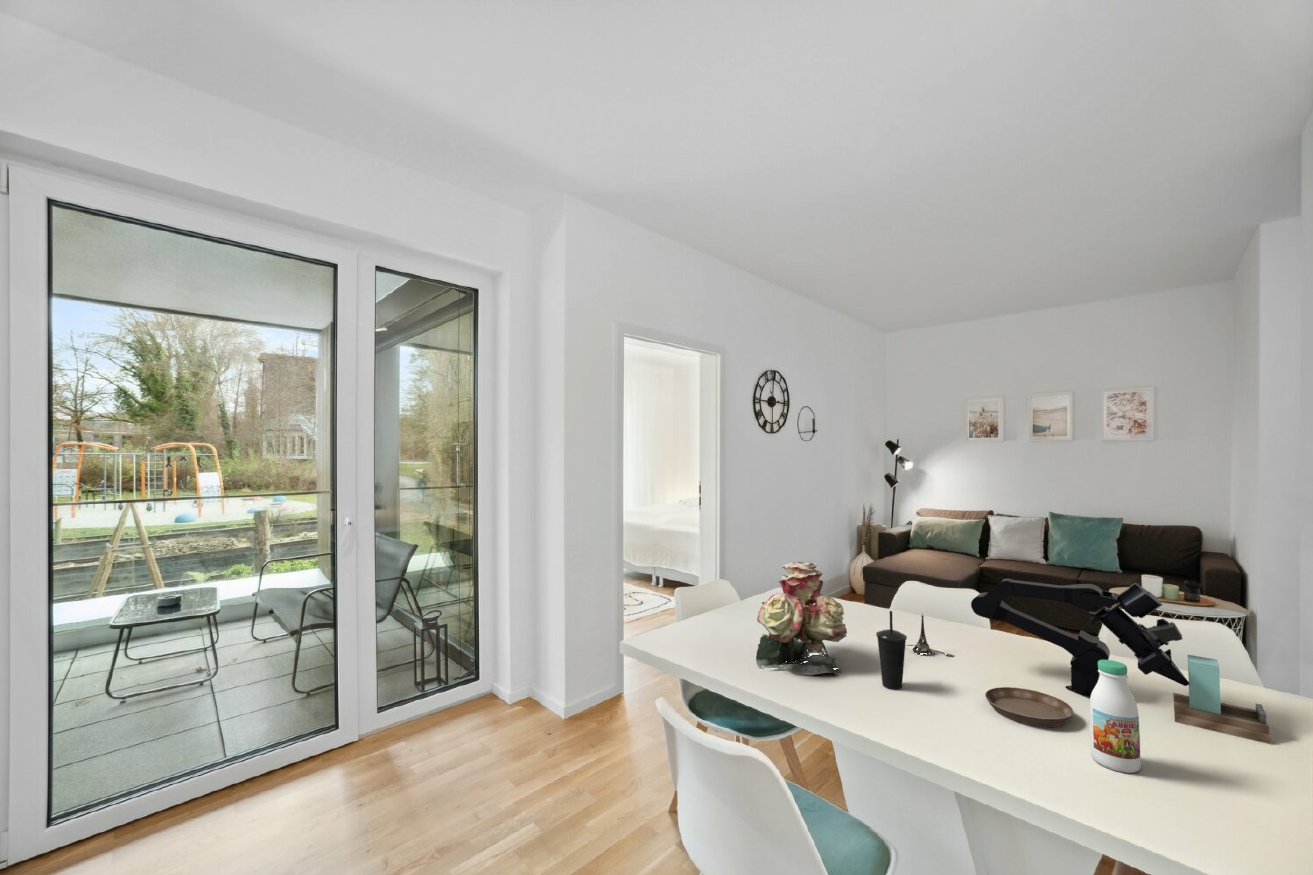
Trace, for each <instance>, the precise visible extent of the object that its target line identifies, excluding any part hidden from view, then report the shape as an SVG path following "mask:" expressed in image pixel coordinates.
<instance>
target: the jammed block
mask: <svg viewBox="0 0 1313 875" xmlns="http://www.w3.org/2000/svg"><path fill="white" fill-rule="evenodd" d="M1187 668H1188V674H1187V676H1188V682H1189V685H1188V696H1189V704H1190V708H1194V709H1199V710H1203V711H1208V712H1212V713H1217V714H1221V704H1220V703H1221V684H1220V682H1221V680H1220V666H1219V661H1218V659H1216V658H1215V659H1214V658H1210V657H1203V656H1199V655H1198V656H1197V655H1193V654H1187Z"/></svg>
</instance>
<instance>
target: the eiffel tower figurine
mask: <svg viewBox="0 0 1313 875" xmlns="http://www.w3.org/2000/svg"><path fill="white" fill-rule="evenodd" d="M921 612H922V611H921ZM920 617H921V620H920V622H921V626H920V635H919V638H918V640H917V642H916V644H907V646H915V647H914V648H913V649H912V650H913V651H912V650H911V651H912V652H913V654H915V653H917V655H920V653H927V655H926V654H923V655H920V657H921V656H923V657H935V654H934V653H941V654H943V653H945V652H942V651H939V650H937V649H932V648H930V644H929V643H928V641H927V636H926V632H925V625H924V624H925V623H924V617H925V616H924V615H923V612H922V614H921V616H920ZM917 648H918V650H916V649H917ZM929 653H930V654H929ZM917 655H916V656H917ZM945 657H949V658H954V657H956V655H954V654H951V653H947V655H945Z"/></svg>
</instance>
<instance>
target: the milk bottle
mask: <svg viewBox="0 0 1313 875" xmlns="http://www.w3.org/2000/svg"><path fill="white" fill-rule="evenodd" d="M1098 672H1099V673H1100V676H1099V680H1098V682H1097V684H1096V686H1095V687H1094V689H1093V691H1092V693H1091V697H1090V698H1089V699H1090V700H1089V726H1090V727H1089V731H1090V734H1089V735H1090V736H1089V737H1090V739H1089V740H1090V754H1091V758H1092V759H1093V760H1094V761H1095V762H1096V763H1097V764H1098V765H1101V766H1102V767H1104V768H1107V769H1110V770H1113V771H1117V772H1120V773H1125V774H1126V773H1127V774H1133V773H1134V774H1135V773H1138V772H1139V771H1140V770H1141V740H1140V734H1141V733H1140V717H1139V709H1138V705H1137V702H1136V699H1135V697H1134V696H1133V694H1132V692H1131V689H1130V688H1129V686H1128V683H1127V682H1128V681H1127V678H1128V666H1127V665H1126V664H1124V663H1122V662H1120V661H1116V660H1113V659H1112V660H1111V659H1109V660H1099V661H1098Z"/></svg>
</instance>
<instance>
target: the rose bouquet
mask: <svg viewBox="0 0 1313 875" xmlns="http://www.w3.org/2000/svg"><path fill="white" fill-rule="evenodd" d="M781 567H782V568H783V569H784V570H785V571H786V572H787V575H785V574H783V575H782V576H781V580H780V579H779V581H778V583H779V584H780V587H781V589H782V592H779V591H778V592H776V593H775V592H774V594H772V595H770V596H769V598H768V599H767V600H766V601H762V602H761V604H762V605H761V607H760V610H759V611H758V613H757V617H756V618H757V619H756V621H757V623H759V624H761V625H762V626H763V627H764V628H765V630H766V631H767V632H768V634H765V633H762V634H761V637H759V638H760V639H759V643H758V645H757V647H758V648H757V650H756V656H755V661H756V665H757V667H758V668H760V669H764V668H771V669H772V670H770V673H772V672H773V671H789V672H791V673H793V674H795V675H800V676H813V675H814V676H815V675H819V674H827V673H832V674H834V675H835V676H840V674H841V673H842V669H841V668H840V667H839V666H838V665H837V663H836V660H837V657H832V658H830V656H829V655H828V651H827V648H826V645H825V643H824V641H827V642H833V643H839V642H840V641H841V640H843V639H844V638H846V637H847V633H848V630H847V627H846V626H847V625H846V623H843V620H844V619H845V618H844V617H843V616H844V615H845V613H844V612H845V611H844V607H843V605H842V603H840V602H837V601H836V600H835V599H834V598H833V597H831V596H830V595H825V594H822V593H821V591H822V588H823V586H824V585H823V584H824V580H822V579H820V578H821V577H822V575H823V573H822V571H820V570H817V569H816V568H817V567H818V564H817V563H816V562H815V563H814V562H812V561H811V560H810V562H809V563H807V562H805V561H792V562H790V563H787V564H784V565H781ZM807 650H808V651H807ZM804 653H805V654H808V653H819V654H820V655H812V656H810V657H807V656H805V657H806V658H804V655H805V654H804ZM824 653H826V654H824ZM803 654H804V655H803ZM802 655H803V656H802ZM821 655H824V656H821ZM802 660H803V661H808V662H806V663H802V662H803V661H802ZM786 661H787V662H790V663H789V664H793V665H787V664H786V663H785V662H786ZM795 661H797V662H798V661H802V662H801V663H802V664H800V663H796V664H797V665H795V664H794V663H793V662H795ZM834 661H835V662H834ZM783 663H785V664H783ZM781 664H782V665H781ZM780 665H781V666H780ZM773 668H777V669H774V670H773ZM833 668H839V669H836V670H834V669H833ZM771 671H772V672H771Z"/></svg>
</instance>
